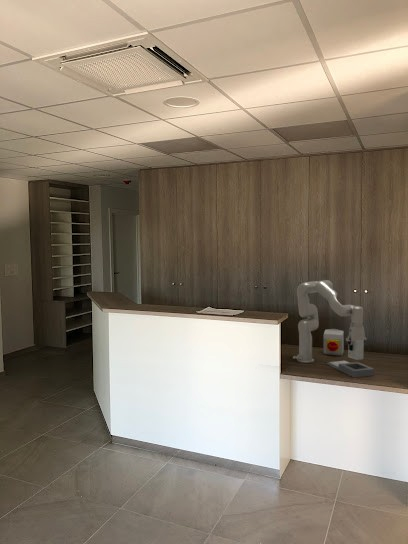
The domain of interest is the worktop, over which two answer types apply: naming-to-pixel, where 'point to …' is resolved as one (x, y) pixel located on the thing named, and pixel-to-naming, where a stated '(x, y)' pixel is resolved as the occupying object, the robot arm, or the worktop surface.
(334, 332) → the electrical switch box
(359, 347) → the small box
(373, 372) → the case
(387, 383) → the worktop surface
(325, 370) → the worktop surface
